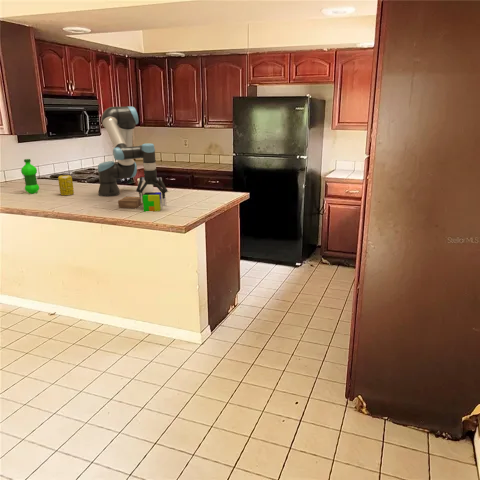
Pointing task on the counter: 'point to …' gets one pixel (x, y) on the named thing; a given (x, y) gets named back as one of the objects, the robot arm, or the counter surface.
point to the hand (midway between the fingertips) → (152, 203)
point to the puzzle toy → (152, 201)
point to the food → (66, 185)
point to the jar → (148, 188)
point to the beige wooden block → (164, 202)
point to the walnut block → (130, 202)
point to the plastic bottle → (30, 177)
